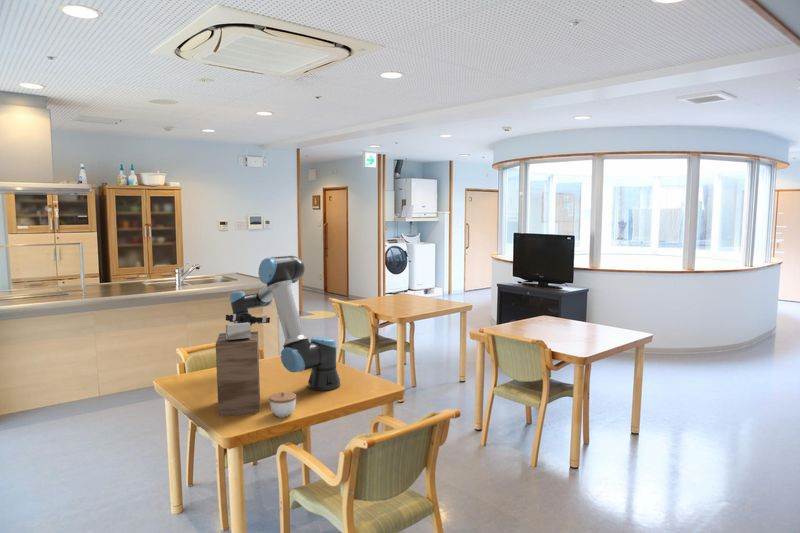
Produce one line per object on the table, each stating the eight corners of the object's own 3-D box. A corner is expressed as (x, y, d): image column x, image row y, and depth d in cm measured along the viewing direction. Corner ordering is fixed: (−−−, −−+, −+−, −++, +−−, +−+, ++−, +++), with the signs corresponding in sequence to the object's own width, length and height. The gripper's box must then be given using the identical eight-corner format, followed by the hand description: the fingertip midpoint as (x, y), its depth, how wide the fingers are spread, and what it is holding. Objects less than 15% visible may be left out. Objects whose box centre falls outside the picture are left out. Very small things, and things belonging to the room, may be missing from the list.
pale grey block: (251, 337, 224) (250, 323, 225) (228, 340, 220) (227, 325, 221) (239, 333, 250) (238, 320, 250) (219, 335, 246) (218, 322, 246)
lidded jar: (264, 415, 221) (263, 393, 220) (283, 407, 230) (282, 386, 229) (283, 421, 215) (282, 398, 214) (302, 413, 224) (301, 390, 223)
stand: (259, 412, 225) (256, 341, 221) (218, 416, 221) (215, 343, 218) (260, 397, 243) (257, 331, 240) (222, 400, 239) (219, 333, 236)
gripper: (269, 329, 273) (277, 327, 254) (217, 327, 264) (221, 324, 245) (270, 314, 275) (278, 311, 255) (218, 311, 265) (222, 307, 246)
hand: (250, 317), depth 250 cm, fingers open, 13 cm apart
